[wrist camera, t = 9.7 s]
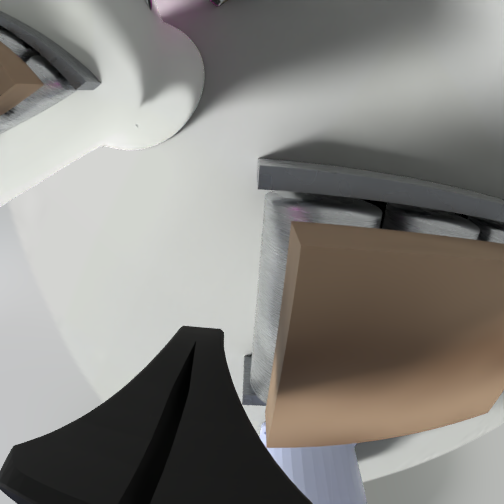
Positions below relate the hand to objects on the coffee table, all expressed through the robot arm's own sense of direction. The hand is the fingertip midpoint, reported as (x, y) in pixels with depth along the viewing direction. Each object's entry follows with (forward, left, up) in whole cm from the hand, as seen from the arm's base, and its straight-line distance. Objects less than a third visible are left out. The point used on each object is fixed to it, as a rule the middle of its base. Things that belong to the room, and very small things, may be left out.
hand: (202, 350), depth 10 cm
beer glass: (+9, +4, -6) cm, 11 cm away
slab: (0, -8, -1) cm, 9 cm away
